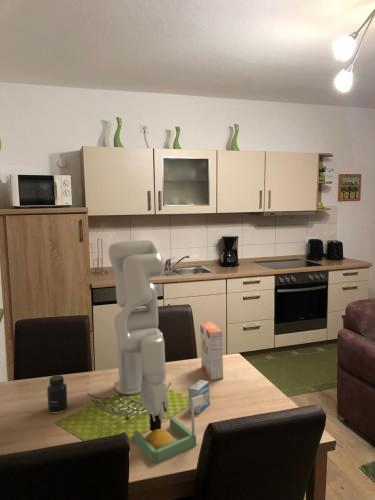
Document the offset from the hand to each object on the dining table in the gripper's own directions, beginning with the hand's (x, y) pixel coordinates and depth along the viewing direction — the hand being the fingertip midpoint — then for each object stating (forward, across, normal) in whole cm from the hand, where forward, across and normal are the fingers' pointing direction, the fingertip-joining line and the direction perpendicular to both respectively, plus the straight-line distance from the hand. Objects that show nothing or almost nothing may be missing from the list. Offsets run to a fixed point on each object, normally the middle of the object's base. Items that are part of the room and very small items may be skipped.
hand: (155, 429), depth 124 cm
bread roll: (+2, +6, -2) cm, 6 cm away
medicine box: (+2, -5, +21) cm, 22 cm away
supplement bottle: (+2, -35, -21) cm, 41 cm away
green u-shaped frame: (+1, +6, +2) cm, 6 cm away
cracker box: (+2, -25, +42) cm, 49 cm away
